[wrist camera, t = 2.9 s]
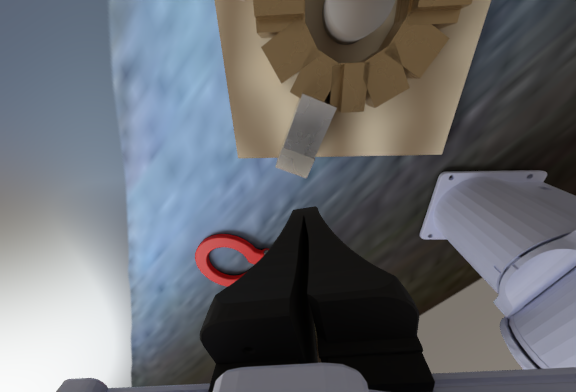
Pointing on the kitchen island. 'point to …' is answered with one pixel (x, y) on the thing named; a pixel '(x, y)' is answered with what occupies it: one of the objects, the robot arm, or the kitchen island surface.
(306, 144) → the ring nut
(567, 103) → the kitchen island surface
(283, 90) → the spindle board
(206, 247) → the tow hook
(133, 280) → the kitchen island surface
